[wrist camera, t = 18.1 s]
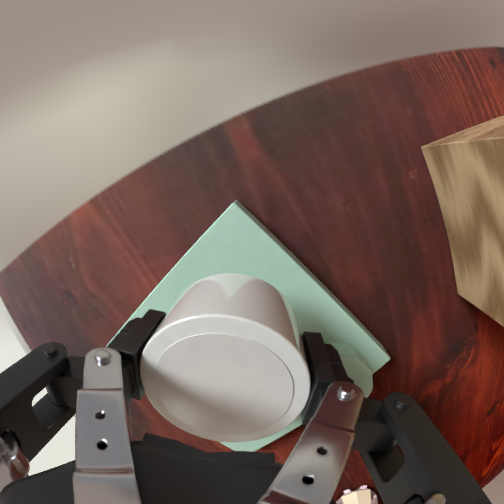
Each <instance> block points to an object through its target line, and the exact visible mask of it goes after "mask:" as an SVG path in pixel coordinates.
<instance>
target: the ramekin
mask: <svg viewBox="0 0 504 504" xmlns="http://www.w3.org/2000/svg"><path fill="white" fill-rule="evenodd" d="M140 379H141V383H142V386H143V389H144V392H145V394H146V395H147V397H148V399H149V401H150V402H151V403H152V405H153V406H154V407H155V409H156V410H157V411H158V412H159V413H160V414H161V415H162V416H163V417H164V418H166V419H167V420H168V421H170V422H171V423H172V424H174V425H175V426H177V427H179V428H180V429H182V430H184V431H186V432H188V433H191V434H193V435H196V436H198V437H202V438H205V439H209V440H214V441H221V442H247V441H253V440H258V439H262V438H265V437H268V436H271V435H273V434H275V433H277V432H279V431H281V430H283V429H284V428H286V427H287V426H289V425H290V424H291V423H292V422H293V421H295V420H296V418H297V417H298V416H299V415H300V414H301V412H302V411H303V409H304V408H305V406H306V403H307V401H308V398H309V395H310V391H311V377H310V371H309V367H308V362H307V358H306V353H305V349H304V344H303V340H302V336H301V331H300V327H299V323H298V319H297V316H296V313H295V311H294V309H293V307H292V305H291V304H290V302H289V301H288V299H287V298H286V297H285V296H284V295H283V294H282V293H281V292H280V291H279V290H277V289H276V288H275V287H273V286H272V285H270V284H269V283H267V282H265V281H263V280H261V279H259V278H256V277H253V276H250V275H244V274H238V273H221V274H215V275H211V276H208V277H205V278H202V279H200V280H198V281H196V282H194V283H193V284H191V285H190V286H188V287H187V288H186V289H185V290H184V291H183V292H182V293H181V294H180V295H179V297H178V298H177V299H176V301H175V302H174V304H173V305H172V307H171V308H170V310H169V311H168V313H167V314H166V315H165V317H164V318H163V320H162V321H161V323H160V324H159V326H158V327H157V329H156V330H155V332H154V333H153V335H152V336H151V338H150V339H149V341H148V342H147V344H146V346H145V348H144V349H143V352H142V355H141V359H140Z"/></svg>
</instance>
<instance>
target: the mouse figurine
mask: <svg viewBox="0 0 504 504" xmlns="http://www.w3.org/2000/svg"><path fill="white" fill-rule="evenodd" d="M336 503H337V504H378V500H377V496H376V494H375V493H374V492H373V491H372V490H371V489H368V488H367V485H363V486H361V487H360V488H358V489H356V490H350V489H348V490H345V491H344V494H343V495H342V497H341V498H340V499H339V500H338V501H337V502H336Z"/></svg>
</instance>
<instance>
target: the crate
mask: <svg viewBox="0 0 504 504" xmlns="http://www.w3.org/2000/svg"><path fill="white" fill-rule="evenodd" d="M421 150H422V152H423V155H424V158H425V160H426V163H427V166H428V169H429V172H430V175H431V178H432V181H433V184H434V187H435V191H436V194H437V197H438V201H439V204H440V208H441V212H442V215H443V219H444V223H445V227H446V232H447V236H448V240H449V245H450V250H451V255H452V260H453V266H454V272H455V278H456V285H457V292H458V294H459V295H460V296H462V297H463V298H464V299H466V300H467V301H469V302H470V303H472V304H473V305H474V306H476V307H477V308H479V309H480V310H481V311H483V312H484V313H485V314H487V315H488V316H490V317H491V318H492V319H494V320H495V321H496V322H498V323H499V324H500V325H502V326H503V327H504V115H503V116H500V117H497V118H495V119H492V120H489V121H487V122H484V123H481V124H479V125H476V126H473V127H471V128H468V129H465V130H463V131H460V132H457V133H455V134H452V135H450V136H447V137H445V138H442V139H440V140H437V141H434V142H432V143H429V144H427V145H424V146H422V147H421Z"/></svg>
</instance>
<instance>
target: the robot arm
mask: <svg viewBox="0 0 504 504" xmlns="http://www.w3.org/2000/svg"><path fill="white" fill-rule="evenodd" d="M165 315H166V312H163V311H158V310H153V309H149V310H148V311H147V312H146V313H145V315H144V316H143V317H142V318H139V317H136V318H134V319H132V320H130V321H128V323H127V324H126V325H125V326H124V327H123V328H122V329H121V331H120V332H119V333H118V334H117V335H116V336H115V338H114V339H113V340H112V341H111V342H110V343H109V345H108V346H107V347H98V348H94V349H92V350H90V351H89V352H88V353H87V354H86V356H85V357H75V356H68V353H67V349H66V347H65V346H64V345H62V344H60V343H55V342H50V343H45V344H42V345H41V346H39V347H38V348H36V349H35V350H33V351H32V352H30V353H29V354H27V355H26V356H25V357H23V358H22V359H20V360H19V361H18V362H16V363H15V364H13V365H12V366H10V367H9V368H8V369H6V370H5V371H3V372H2V373H1V374H0V504H337V503H336V502H334V501H333V500H332V497H333V494H334V492H335V490H336V487H337V485H338V482H339V480H340V477H341V475H342V472H343V469H344V467H345V464H346V461H347V458H348V456H349V453H350V450H351V449H354V450H359V452H360V454H361V456H362V459H363V461H364V463H365V465H366V467H367V469H368V471H369V473H370V475H371V477H372V479H373V482H374V484H375V486H376V488H377V490H378V492H379V494H380V496H381V498H382V501H383V503H384V504H492V503H491V502H490V500H489V499H488V497H487V496H486V494H485V493H484V492H483V490H482V489H481V487H480V486H479V484H478V483H477V482H476V480H475V479H474V477H473V476H472V475H471V473H470V472H469V470H468V469H467V468H466V466H465V465H464V464H463V462H462V461H461V459H460V458H459V457H458V455H457V454H456V453H455V451H454V450H453V449H452V447H451V446H450V445H449V443H448V442H447V441H446V439H445V438H444V437H443V435H442V434H441V433H440V431H439V430H438V429H437V427H436V426H435V425H434V423H433V422H432V421H431V420H430V418H429V417H428V416H427V414H426V413H425V412H424V411H423V409H422V408H421V407H420V405H419V404H418V403H417V402H416V400H415V399H414V398H413V397H411V396H410V395H408V394H405V393H402V392H393V393H390V394H388V395H387V396H386V397H385V399H384V401H379V400H374V399H369V398H366V397H364V393H363V391H362V390H361V388H360V387H358V386H357V385H355V384H353V383H351V382H350V381H349V378H348V376H347V373H346V371H345V368H344V365H342V364H343V363H342V360H341V359H340V355H339V353H338V350H337V349H335V348H334V347H333V346H332V345H331V344H325V343H324V341H323V338H322V335H321V333H320V332H310V331H304V332H303V334H302V340H303V344H304V349H305V353H306V358H307V362H308V367H309V371H310V377H311V391H310V395H309V398H308V401H307V403H306V406H305V408H304V409H303V411H302V412H301V419H302V425H307V426H306V428H305V429H304V431H303V433H302V435H301V437H300V438H299V440H298V442H297V444H296V445H295V447H294V449H293V450H292V452H291V454H290V455H289V457H288V459H287V460H286V462H285V464H284V465H283V464H281V463H277V462H275V453H261V452H249V451H234V452H216V453H208V452H204V451H201V450H199V449H196V448H194V447H191V446H189V445H186V444H184V443H181V442H179V441H177V440H173V439H169V438H164V437H160V436H156V435H152V434H148V433H145V435H144V438H143V440H142V441H134V436H133V430H132V424H131V418H130V411H129V405H128V403H129V401H130V399H131V398H133V399H136V400H141V398H142V396H143V394H144V389H143V386H142V383H141V379H140V359H141V355H142V352H143V349H144V348H145V346H146V344H147V342H148V341H149V339H150V338H151V336H152V335H153V333H154V332H155V330H156V329H157V327H158V326H159V324H160V323H161V321H162V320H163V318H164V317H165ZM45 387H46V389H47V392H48V393H47V394H46V395H45V396H44V397H43V398H42V399H40V400H39V401H38V402H37V403H36V404H35V405H34V406H33V407H32V400H33V398H34V397H35V395H37V394H38V393H39V392H40V391H41V390H42V389H44V388H45ZM75 413H76V426H75V428H76V429H75V458H76V459H75V460H73V461H71V462H68V463H66V464H63V465H60V466H58V467H55V468H52V469H49V470H46V471H43V472H41V473H37V474H34V475H31V476H29V475H28V472H29V468H30V466H29V462H30V461H31V460H32V459H33V458H34V457H35V456H36V455H37V454H38V452H39V451H40V450H41V449H42V448H43V447H44V446H45V445H46V444H47V443H48V442H49V441H50V440H51V439H52V438H53V437H54V436H55V435H56V433H57V432H58V431H59V430H60V429H61V428H62V427H63V426H64V425H65V424H66V423H67V422H68V421H69V420H70V419H71V418H72V417H73V416H74V414H75ZM397 443H398V445H399V446H400V448H401V450H402V451H403V453H404V457H403V456H402V454H401V452H400V451H399V449H398V447H397V446H396V444H397Z"/></svg>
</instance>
